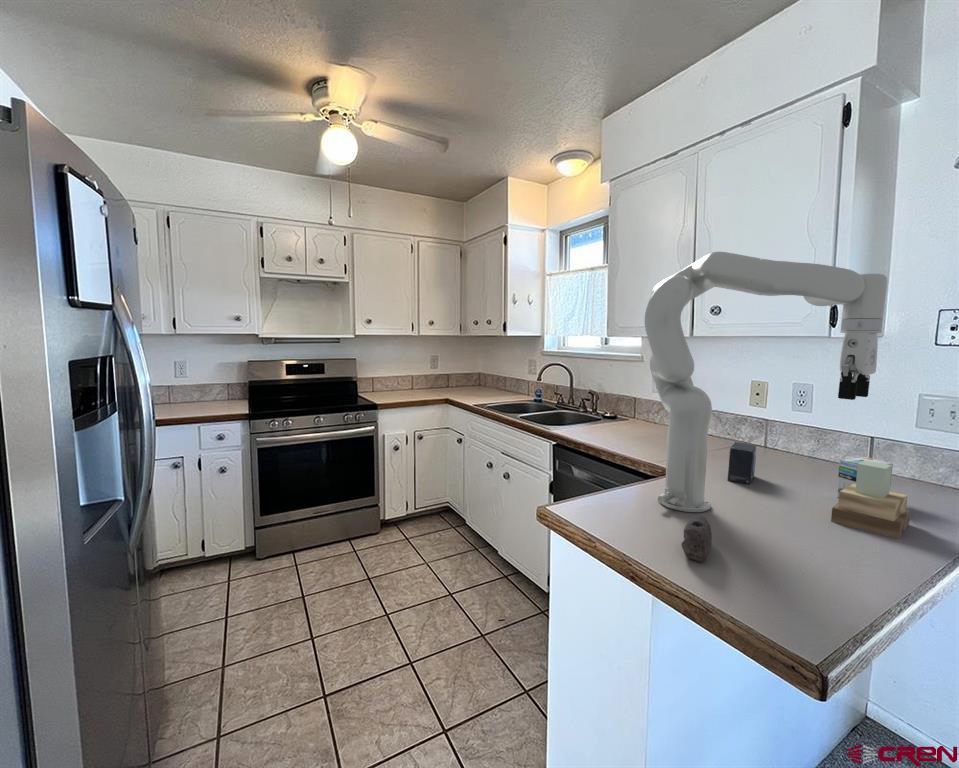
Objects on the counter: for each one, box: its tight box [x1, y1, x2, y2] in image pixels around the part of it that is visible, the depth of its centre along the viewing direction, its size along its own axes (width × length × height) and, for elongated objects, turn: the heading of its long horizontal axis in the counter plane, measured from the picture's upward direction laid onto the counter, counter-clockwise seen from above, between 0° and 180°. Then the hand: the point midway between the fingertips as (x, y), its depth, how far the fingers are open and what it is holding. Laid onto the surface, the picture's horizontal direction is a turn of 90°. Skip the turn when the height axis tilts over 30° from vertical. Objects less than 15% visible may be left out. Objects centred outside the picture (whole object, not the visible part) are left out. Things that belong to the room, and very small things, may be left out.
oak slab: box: [837, 484, 908, 522], centre depth 105 cm, size 10×10×4 cm
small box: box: [727, 441, 757, 485], centre depth 138 cm, size 11×6×10 cm, turn 143°
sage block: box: [855, 460, 893, 498], centre depth 105 cm, size 5×5×7 cm
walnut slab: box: [830, 502, 911, 540], centre depth 106 cm, size 12×12×4 cm
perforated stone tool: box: [681, 515, 713, 563], centre depth 92 cm, size 15×5×7 cm, turn 147°
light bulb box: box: [836, 456, 894, 498], centre depth 121 cm, size 11×7×11 cm, turn 105°
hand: (853, 397), depth 108 cm, fingers open, 9 cm apart
